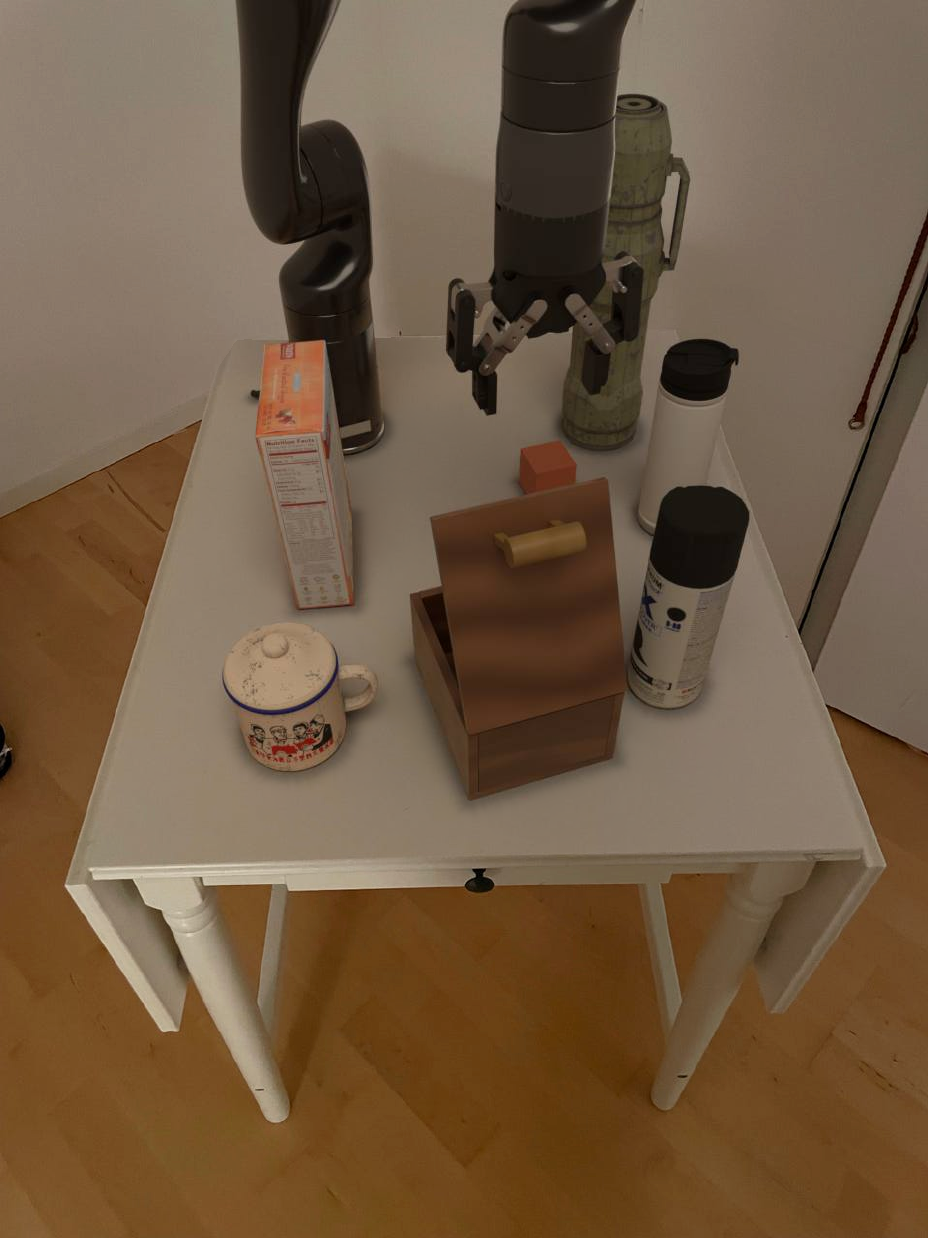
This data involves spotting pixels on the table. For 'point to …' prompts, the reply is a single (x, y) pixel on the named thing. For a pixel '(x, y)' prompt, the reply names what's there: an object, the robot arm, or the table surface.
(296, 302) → the robot arm
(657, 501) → the travel mug
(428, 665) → the chest
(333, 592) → the cracker box
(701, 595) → the spray can
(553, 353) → the table surface
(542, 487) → the block
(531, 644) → the lid
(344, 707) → the teacup with lid
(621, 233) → the thermos
